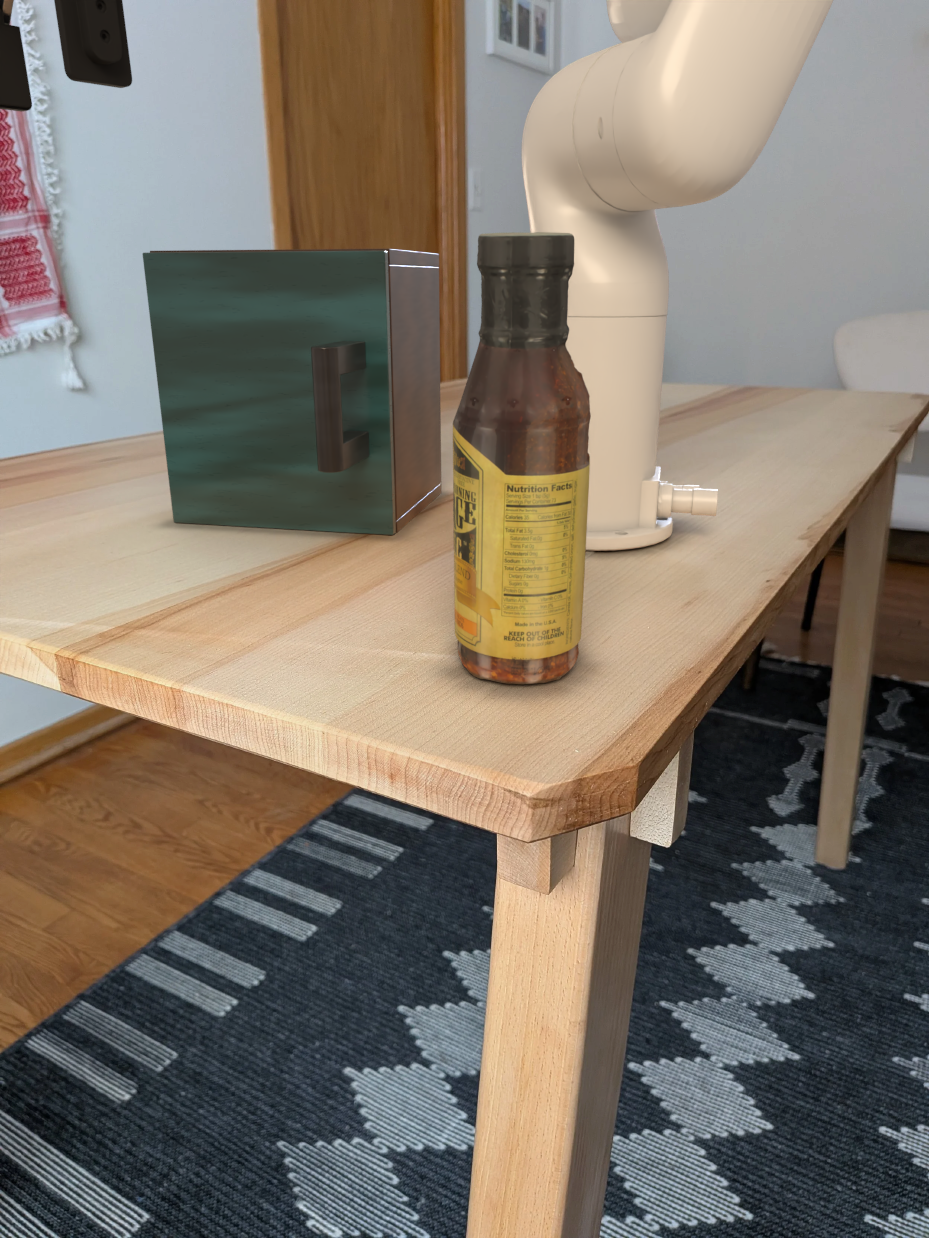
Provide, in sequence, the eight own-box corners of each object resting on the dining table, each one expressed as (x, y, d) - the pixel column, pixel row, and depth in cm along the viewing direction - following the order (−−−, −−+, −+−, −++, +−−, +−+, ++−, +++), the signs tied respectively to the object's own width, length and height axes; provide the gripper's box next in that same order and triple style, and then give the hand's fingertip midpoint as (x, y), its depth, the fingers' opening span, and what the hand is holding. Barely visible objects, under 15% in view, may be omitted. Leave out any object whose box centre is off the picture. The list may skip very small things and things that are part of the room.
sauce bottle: (465, 638, 49) (464, 236, 42) (583, 645, 48) (602, 235, 41) (443, 690, 43) (437, 229, 36) (577, 699, 42) (598, 227, 35)
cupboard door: (366, 559, 62) (353, 247, 55) (128, 544, 66) (88, 250, 59) (396, 532, 69) (388, 250, 62) (178, 520, 72) (147, 253, 65)
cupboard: (397, 533, 69) (389, 248, 62) (180, 521, 73) (149, 250, 66) (441, 493, 82) (439, 253, 75) (255, 485, 85) (236, 255, 78)
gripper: (167, -387, 38) (214, 84, 44) (-25, -243, 48) (34, 123, 54) (-15, -495, 32) (67, 59, 39) (-188, -306, 43) (-102, 108, 49)
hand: (48, 96), depth 46 cm, fingers open, 9 cm apart
